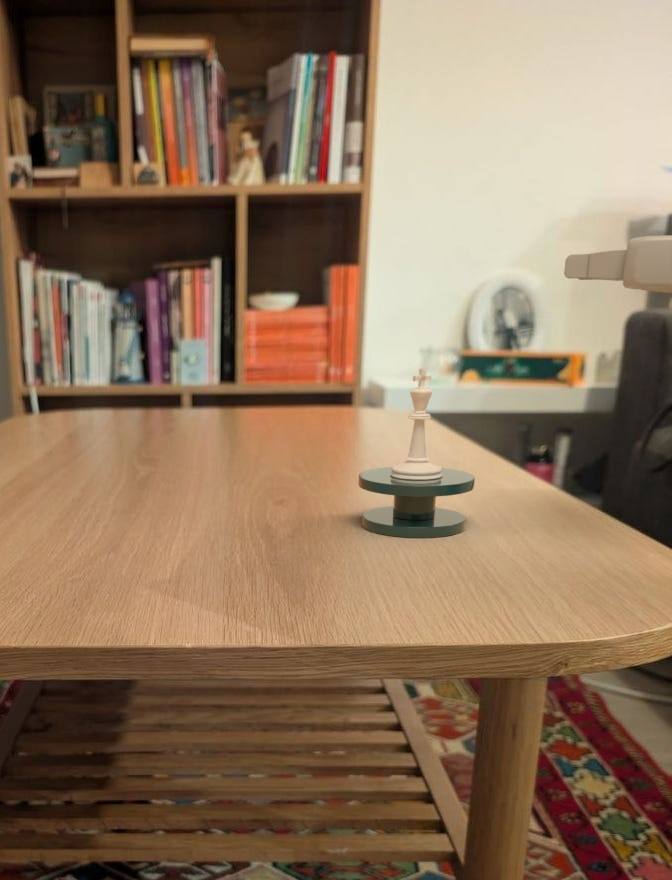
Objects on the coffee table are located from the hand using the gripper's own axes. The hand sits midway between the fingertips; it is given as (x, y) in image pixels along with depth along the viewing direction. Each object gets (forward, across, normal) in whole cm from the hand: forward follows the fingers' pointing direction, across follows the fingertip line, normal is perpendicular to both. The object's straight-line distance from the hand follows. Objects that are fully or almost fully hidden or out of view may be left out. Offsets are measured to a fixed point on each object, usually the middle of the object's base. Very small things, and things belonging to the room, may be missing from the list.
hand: (571, 268), depth 81 cm
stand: (+12, 0, -23) cm, 26 cm away
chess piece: (+12, 0, -19) cm, 22 cm away
